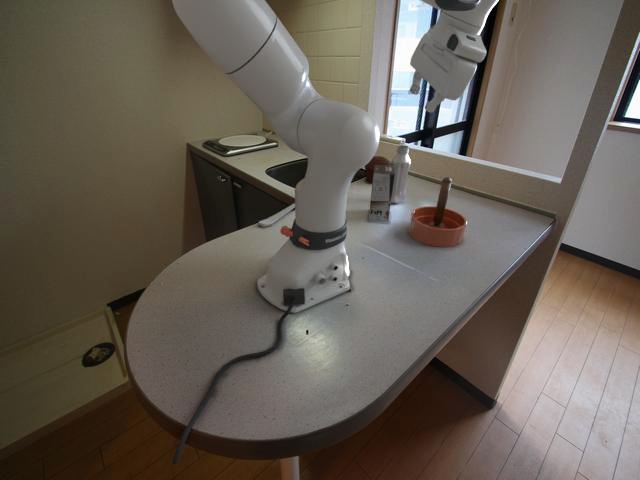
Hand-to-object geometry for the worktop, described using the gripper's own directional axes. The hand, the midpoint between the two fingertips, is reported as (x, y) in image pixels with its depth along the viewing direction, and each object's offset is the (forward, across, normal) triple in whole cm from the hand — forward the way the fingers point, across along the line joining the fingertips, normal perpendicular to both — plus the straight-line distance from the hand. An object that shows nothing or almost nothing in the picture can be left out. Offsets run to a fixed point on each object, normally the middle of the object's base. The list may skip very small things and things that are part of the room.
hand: (420, 101), depth 74 cm
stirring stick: (+31, +11, +18) cm, 38 cm away
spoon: (+47, -12, -17) cm, 52 cm away
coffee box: (+39, -3, +8) cm, 40 cm away
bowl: (+32, +11, +19) cm, 38 cm away
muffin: (+46, -34, +20) cm, 61 cm away
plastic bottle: (+39, -12, +18) cm, 45 cm away
